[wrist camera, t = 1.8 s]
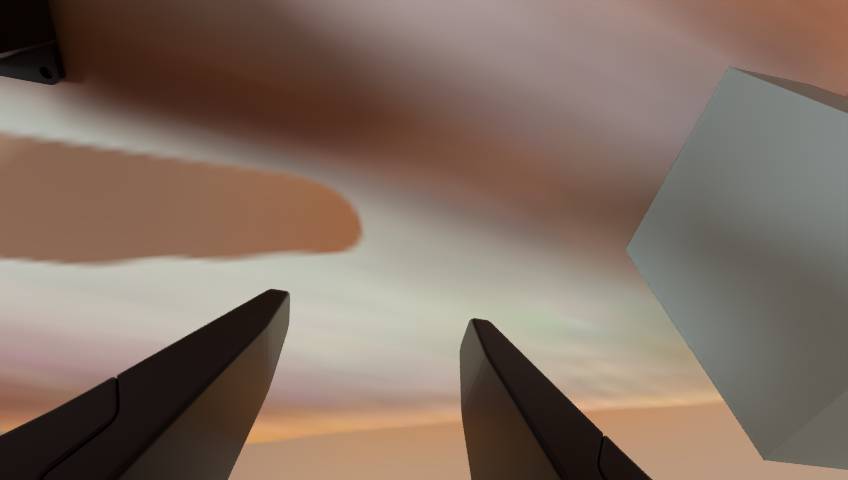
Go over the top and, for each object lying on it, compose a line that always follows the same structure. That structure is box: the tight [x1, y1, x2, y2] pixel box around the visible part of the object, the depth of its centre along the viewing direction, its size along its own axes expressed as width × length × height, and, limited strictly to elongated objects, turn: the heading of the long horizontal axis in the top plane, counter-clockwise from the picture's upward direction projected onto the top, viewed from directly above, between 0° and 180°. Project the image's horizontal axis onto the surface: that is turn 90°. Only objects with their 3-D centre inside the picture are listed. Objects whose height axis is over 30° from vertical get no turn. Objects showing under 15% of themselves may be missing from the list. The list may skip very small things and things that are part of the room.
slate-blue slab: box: [625, 67, 848, 470], centre depth 17 cm, size 4×10×12 cm, turn 169°
